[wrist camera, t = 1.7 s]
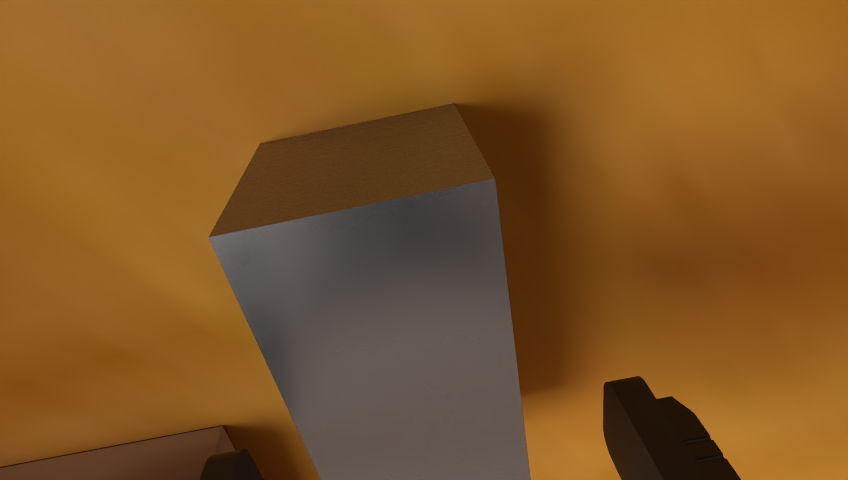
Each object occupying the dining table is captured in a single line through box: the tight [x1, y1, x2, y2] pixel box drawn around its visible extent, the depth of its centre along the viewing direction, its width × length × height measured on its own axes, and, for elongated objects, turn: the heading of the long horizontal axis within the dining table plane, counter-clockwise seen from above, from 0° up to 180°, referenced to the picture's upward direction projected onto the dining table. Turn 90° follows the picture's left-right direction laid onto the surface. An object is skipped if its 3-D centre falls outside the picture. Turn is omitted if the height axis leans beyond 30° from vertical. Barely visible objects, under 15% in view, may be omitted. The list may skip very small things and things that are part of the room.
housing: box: [209, 103, 531, 480], centre depth 14 cm, size 11×5×5 cm, turn 10°
